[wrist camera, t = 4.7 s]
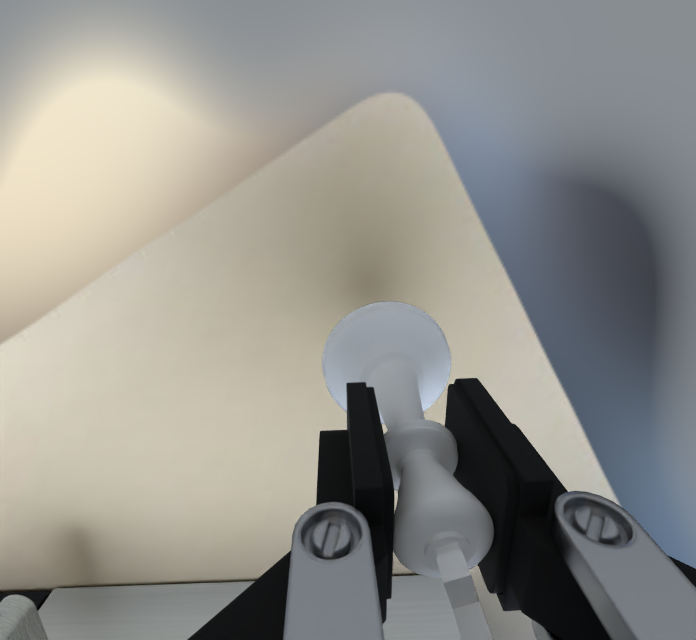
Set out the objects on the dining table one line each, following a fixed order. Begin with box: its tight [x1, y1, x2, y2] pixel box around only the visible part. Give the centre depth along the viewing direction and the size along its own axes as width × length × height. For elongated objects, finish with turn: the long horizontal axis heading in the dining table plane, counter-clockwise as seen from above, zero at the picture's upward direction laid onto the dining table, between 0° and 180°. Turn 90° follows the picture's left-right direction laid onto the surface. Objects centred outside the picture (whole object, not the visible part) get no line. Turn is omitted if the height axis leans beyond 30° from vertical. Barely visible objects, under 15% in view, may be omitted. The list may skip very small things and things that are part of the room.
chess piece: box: [322, 301, 494, 640], centre depth 10 cm, size 5×5×10 cm
